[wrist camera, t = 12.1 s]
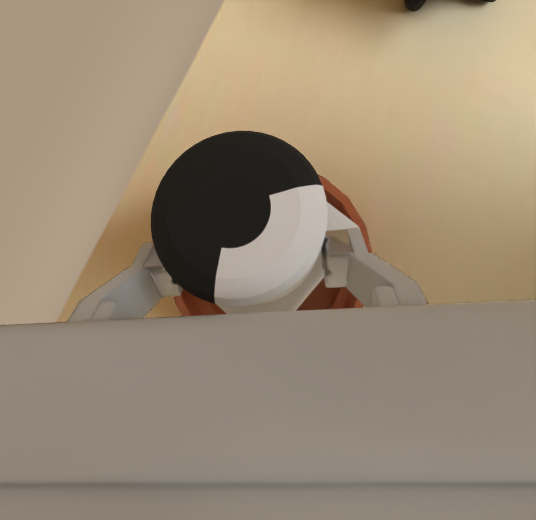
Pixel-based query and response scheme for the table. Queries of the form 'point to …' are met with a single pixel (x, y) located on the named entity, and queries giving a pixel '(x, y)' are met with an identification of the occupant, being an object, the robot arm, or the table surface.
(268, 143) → the medicine bottle
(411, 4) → the toy ball
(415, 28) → the table surface
